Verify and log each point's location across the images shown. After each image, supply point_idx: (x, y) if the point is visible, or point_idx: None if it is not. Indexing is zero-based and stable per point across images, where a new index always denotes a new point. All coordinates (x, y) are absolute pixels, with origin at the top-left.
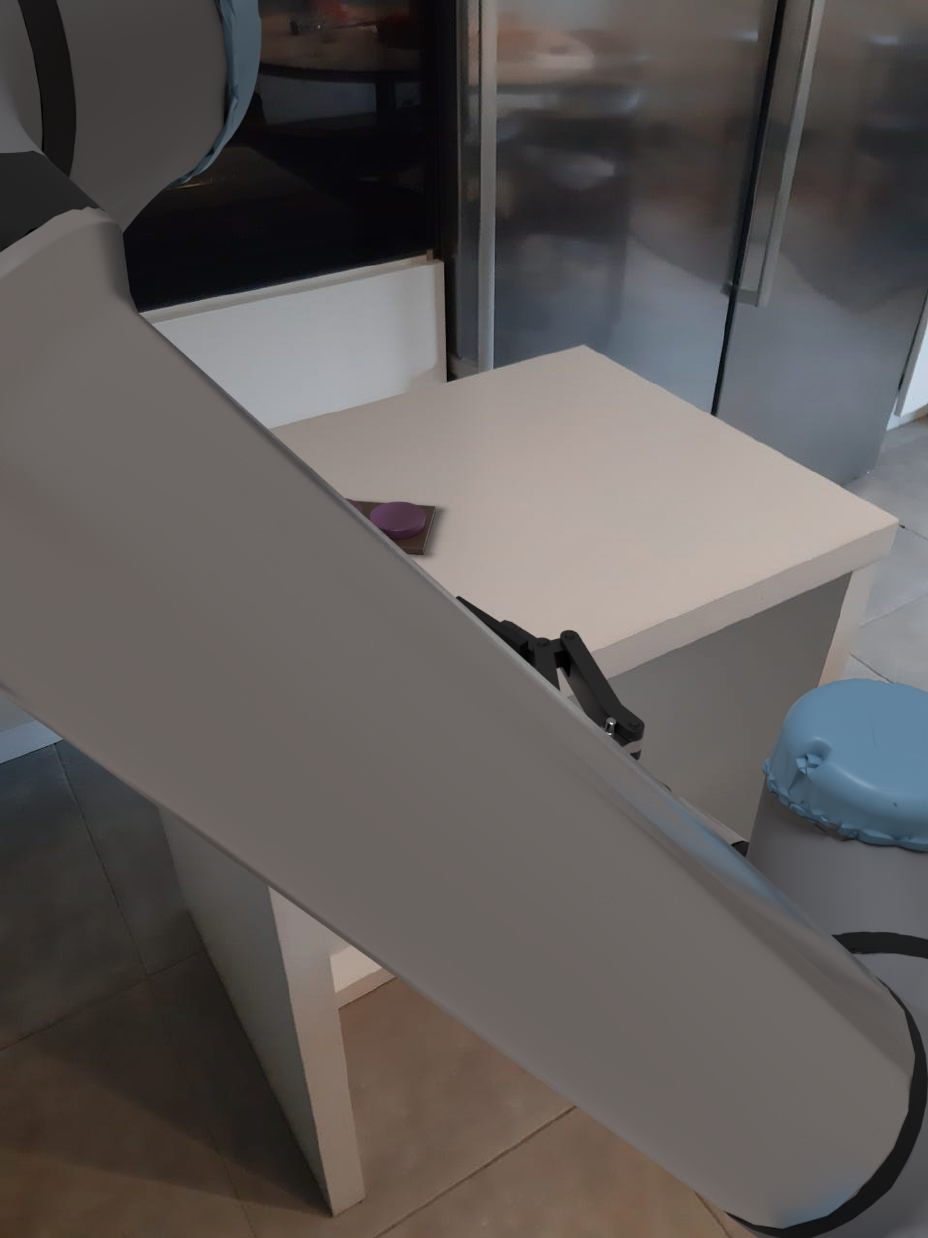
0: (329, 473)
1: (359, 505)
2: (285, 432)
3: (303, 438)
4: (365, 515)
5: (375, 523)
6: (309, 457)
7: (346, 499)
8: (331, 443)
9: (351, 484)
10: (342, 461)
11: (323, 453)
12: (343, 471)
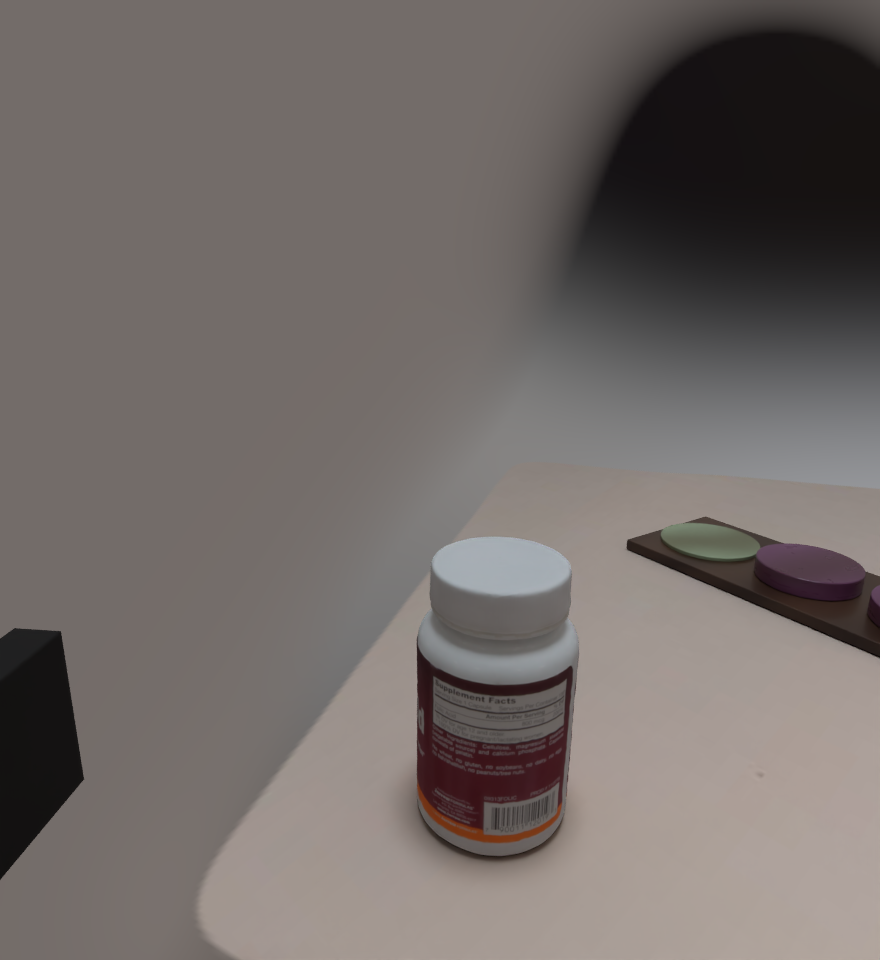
0: (843, 536)
1: (863, 570)
2: (809, 486)
3: (831, 497)
4: (869, 592)
5: (878, 600)
6: (824, 514)
7: (843, 557)
8: (872, 511)
9: (873, 557)
10: (876, 531)
11: (850, 516)
12: (869, 540)
